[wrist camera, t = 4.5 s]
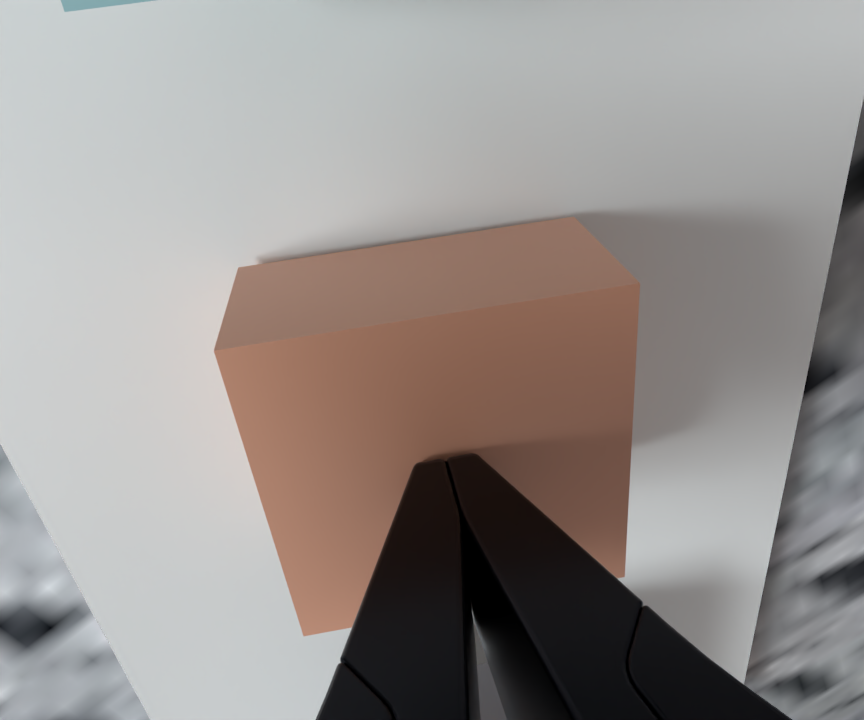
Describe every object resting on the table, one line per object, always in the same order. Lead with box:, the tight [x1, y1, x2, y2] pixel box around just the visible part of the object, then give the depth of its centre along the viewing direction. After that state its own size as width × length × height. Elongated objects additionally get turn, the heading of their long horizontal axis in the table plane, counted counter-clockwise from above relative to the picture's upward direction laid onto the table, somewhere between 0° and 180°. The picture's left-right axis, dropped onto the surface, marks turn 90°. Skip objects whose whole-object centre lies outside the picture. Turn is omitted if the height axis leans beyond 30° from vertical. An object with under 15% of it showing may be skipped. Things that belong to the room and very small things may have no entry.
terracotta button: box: [214, 217, 640, 636], centre depth 10 cm, size 5×5×2 cm
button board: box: [0, 0, 864, 720], centre depth 12 cm, size 26×14×2 cm, turn 6°
